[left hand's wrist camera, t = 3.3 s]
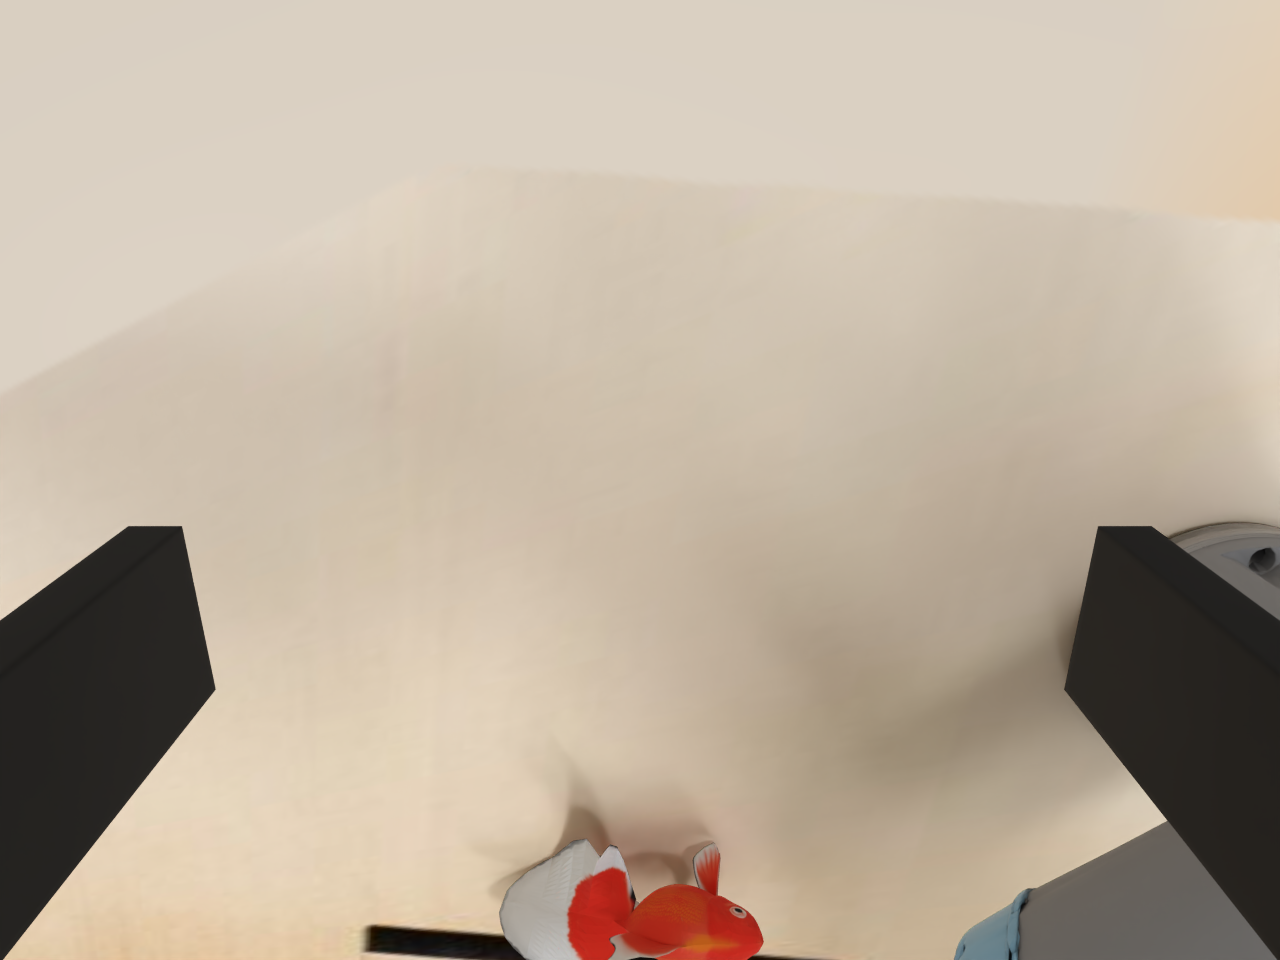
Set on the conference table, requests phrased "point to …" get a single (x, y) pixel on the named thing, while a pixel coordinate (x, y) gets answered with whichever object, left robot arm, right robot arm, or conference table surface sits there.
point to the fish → (622, 912)
